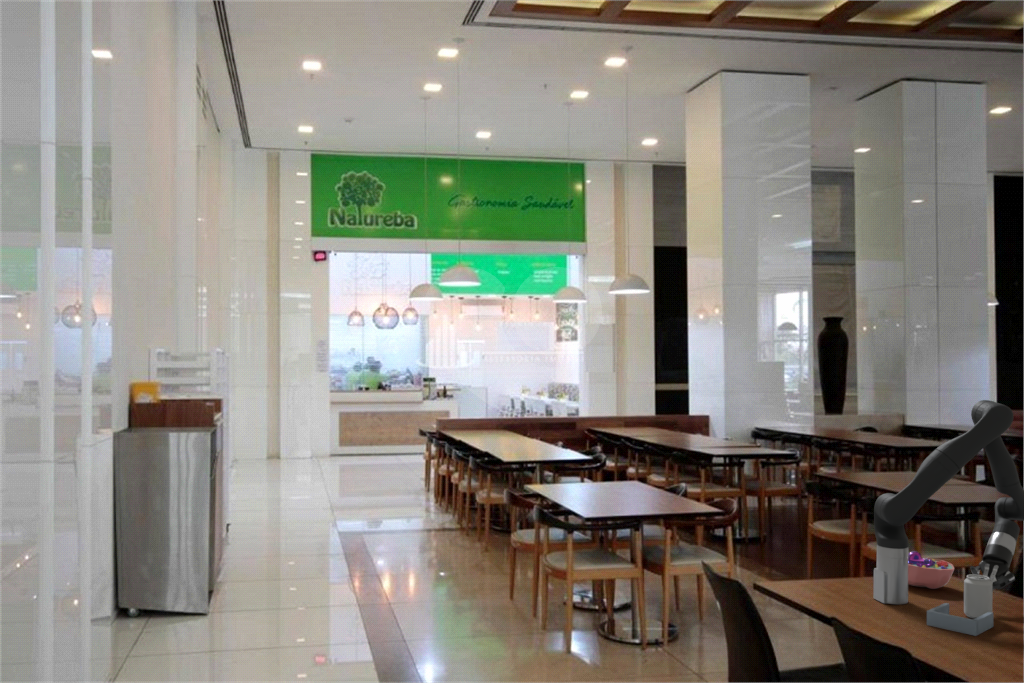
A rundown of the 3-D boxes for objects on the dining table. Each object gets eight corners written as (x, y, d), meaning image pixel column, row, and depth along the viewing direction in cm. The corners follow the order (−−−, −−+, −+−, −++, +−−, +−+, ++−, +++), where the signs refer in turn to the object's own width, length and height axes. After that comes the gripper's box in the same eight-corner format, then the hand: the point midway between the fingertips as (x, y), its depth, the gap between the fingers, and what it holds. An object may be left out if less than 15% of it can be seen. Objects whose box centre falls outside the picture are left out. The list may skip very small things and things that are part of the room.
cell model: (932, 597, 293) (932, 561, 293) (881, 583, 311) (881, 549, 311) (967, 591, 301) (967, 556, 301) (915, 577, 319) (915, 545, 319)
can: (995, 621, 267) (995, 580, 267) (967, 619, 269) (968, 578, 269) (987, 614, 274) (988, 574, 275) (960, 612, 276) (961, 572, 276)
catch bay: (945, 616, 272) (945, 602, 272) (993, 626, 262) (993, 612, 262) (926, 624, 263) (926, 610, 263) (975, 635, 253) (976, 621, 253)
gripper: (973, 539, 287) (957, 585, 278) (1020, 546, 277) (1004, 594, 269) (980, 554, 290) (964, 600, 282) (1026, 561, 281) (1011, 609, 272)
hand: (984, 597), depth 275 cm, fingers closed
